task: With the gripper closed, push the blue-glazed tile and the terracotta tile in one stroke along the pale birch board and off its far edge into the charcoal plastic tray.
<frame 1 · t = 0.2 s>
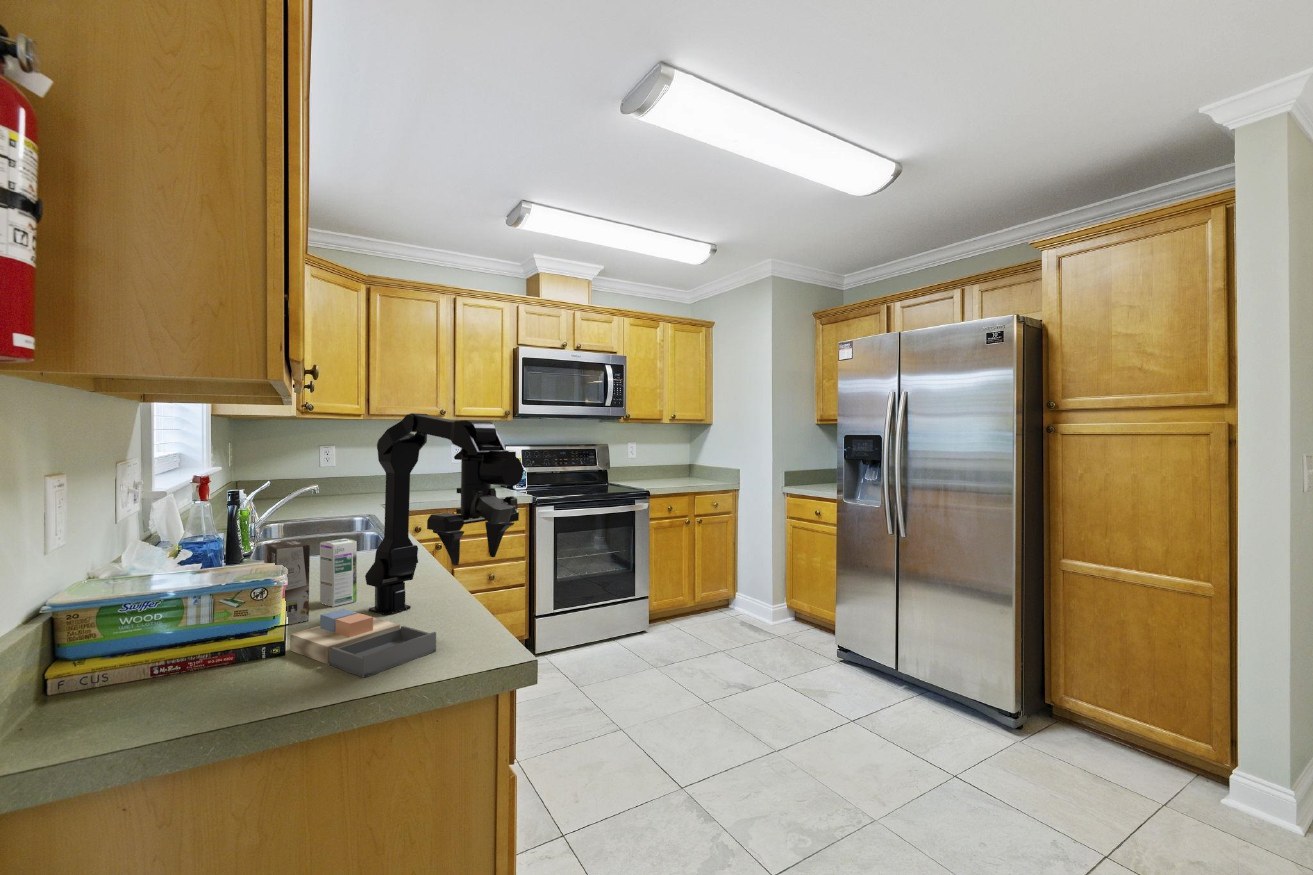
hand: (474, 561, 118), 14 cm above the worktop, tool pointing down, fingers open, 9 cm apart
birch board: (346, 645, 111), on the worktop
coffee box: (286, 620, 125), on the worktop
blue-glazed tile: (338, 626, 112), point 3 cm above the worktop, touching birch board
terracotta tile: (354, 631, 109), point 3 cm above the worktop, touching birch board
charcoal tray: (384, 657, 105), on the worktop
syrup box: (338, 603, 138), on the worktop
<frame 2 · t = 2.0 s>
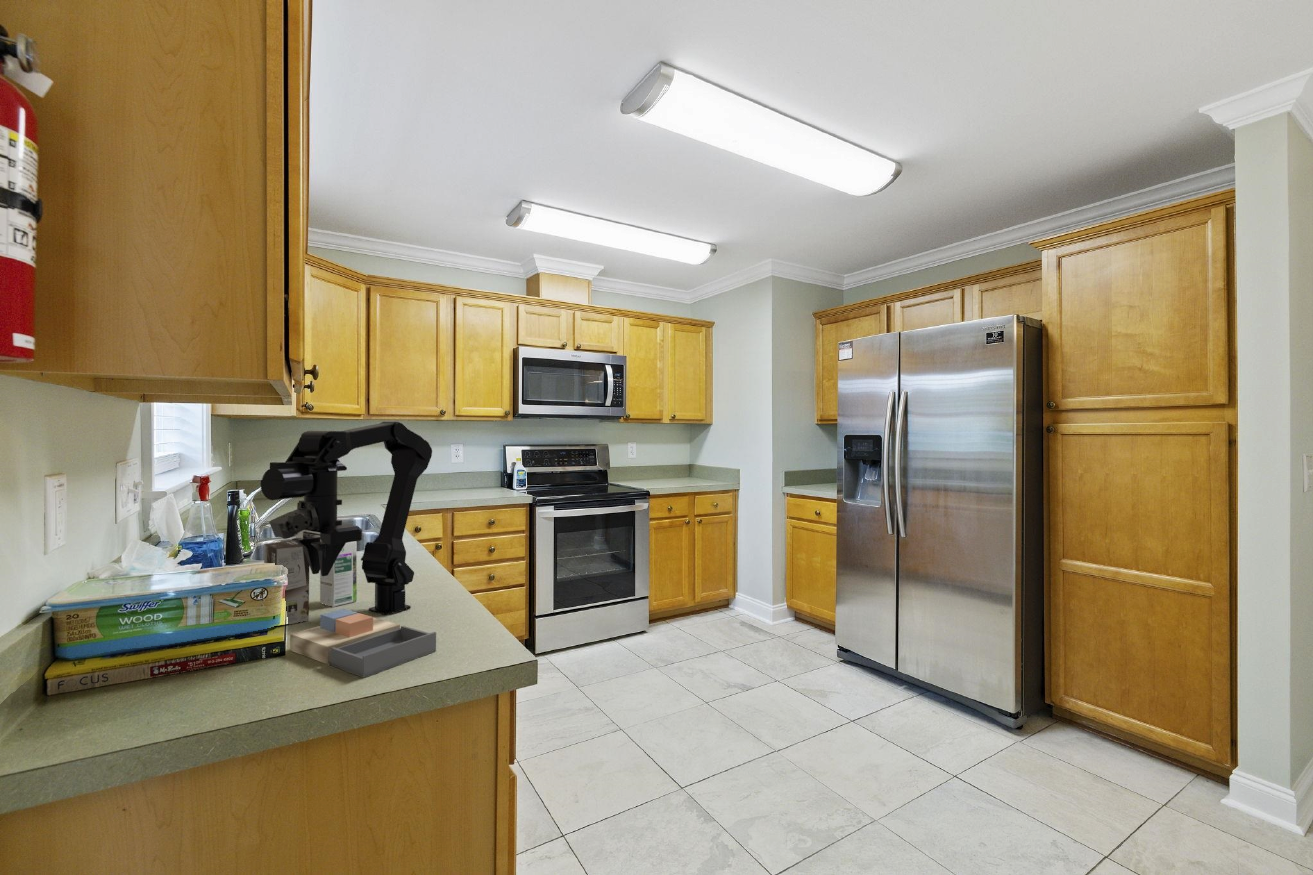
hand: (320, 574, 115), 12 cm above the worktop, tool pointing down, fingers open, 3 cm apart
nothing on the worktop moved.
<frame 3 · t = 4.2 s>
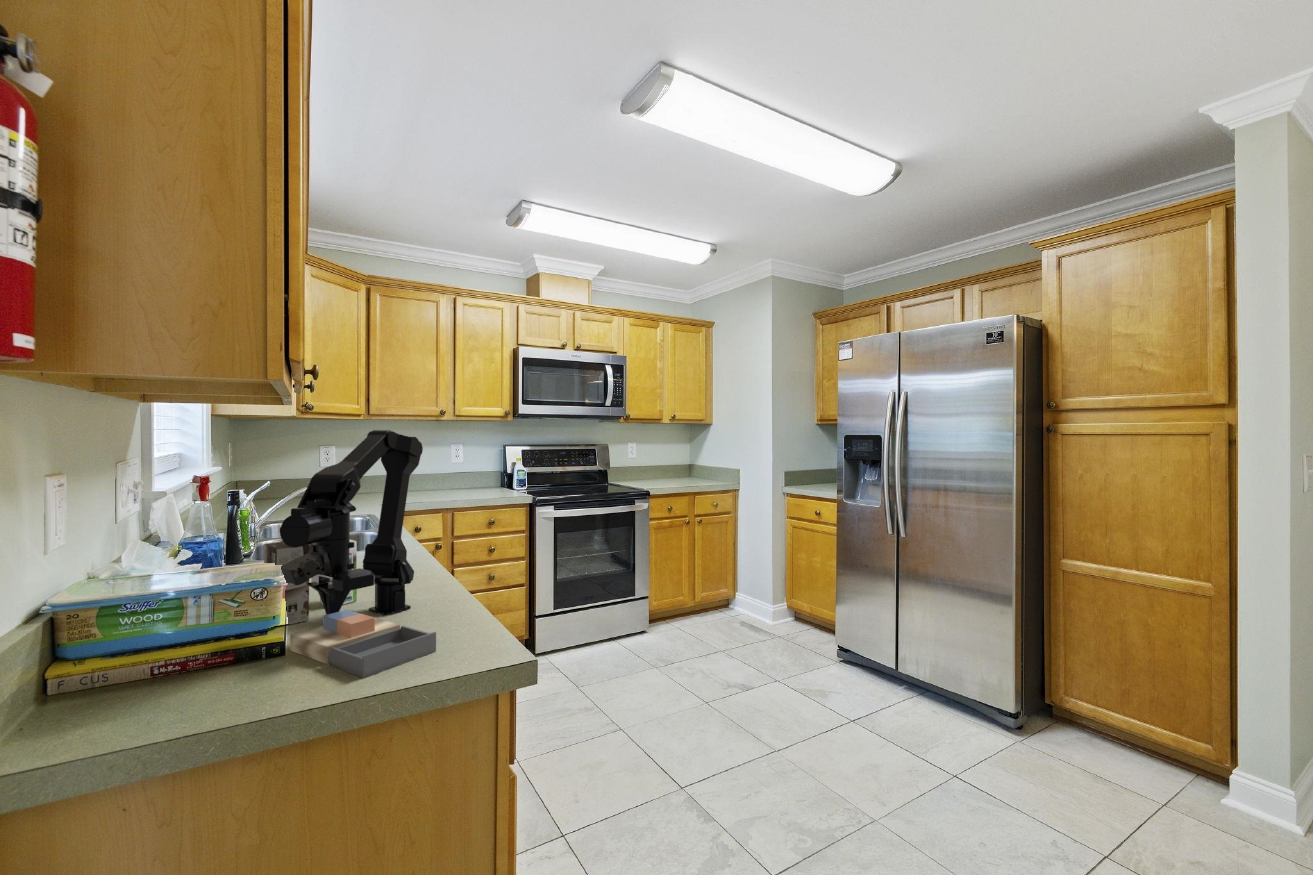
hand: (331, 619, 113), 4 cm above the worktop, tool pointing down, fingers closed
blue-glazed tile: (341, 627, 111), point 3 cm above the worktop, touching gripper
terracotta tile: (355, 632, 109), point 3 cm above the worktop
everything else where it was.
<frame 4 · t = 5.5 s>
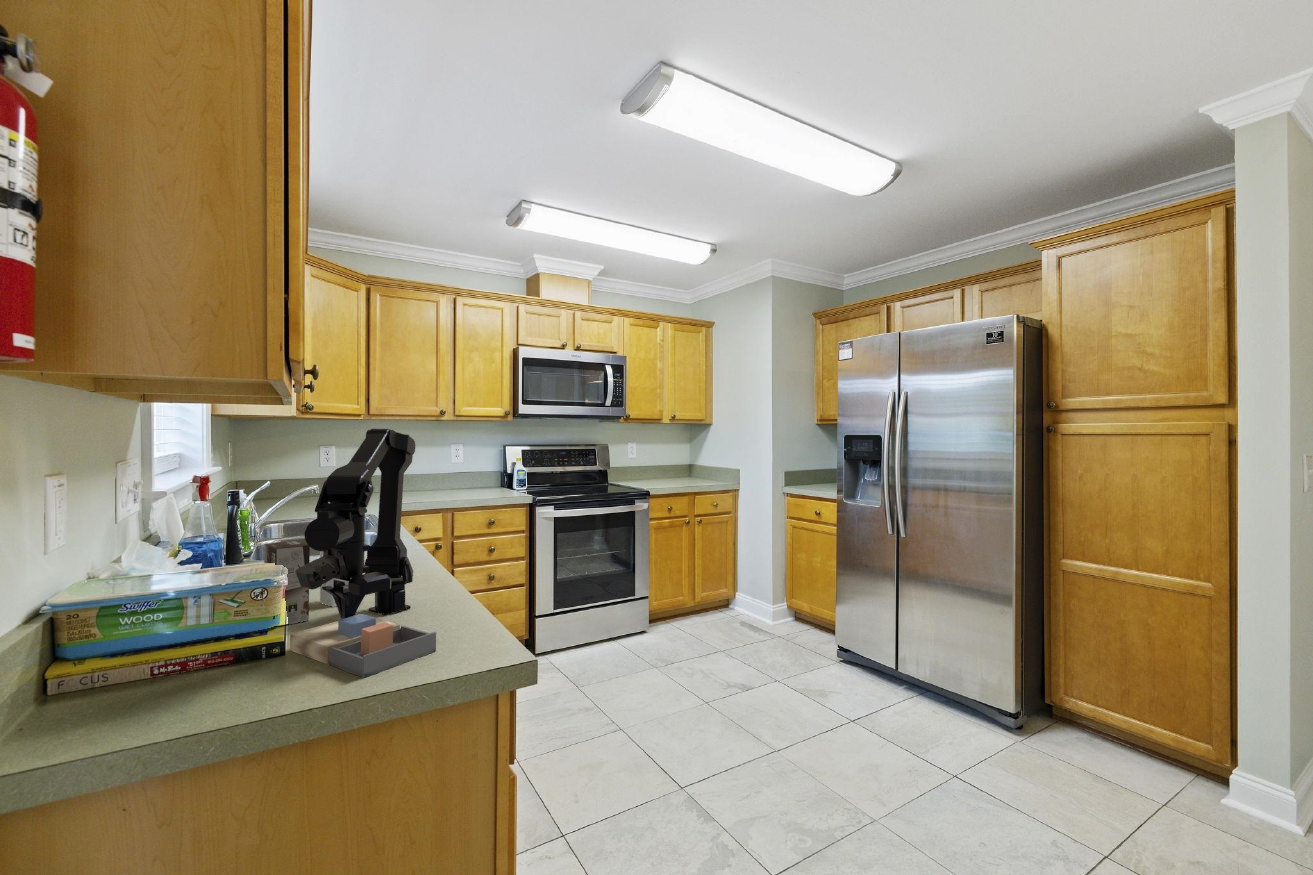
hand: (346, 623, 111), 4 cm above the worktop, tool pointing down, fingers closed
blue-glazed tile: (357, 632, 109), point 3 cm above the worktop, touching birch board, gripper
terracotta tile: (372, 637, 106), point 3 cm above the worktop, tilted 92°, touching charcoal tray
everything else where it was.
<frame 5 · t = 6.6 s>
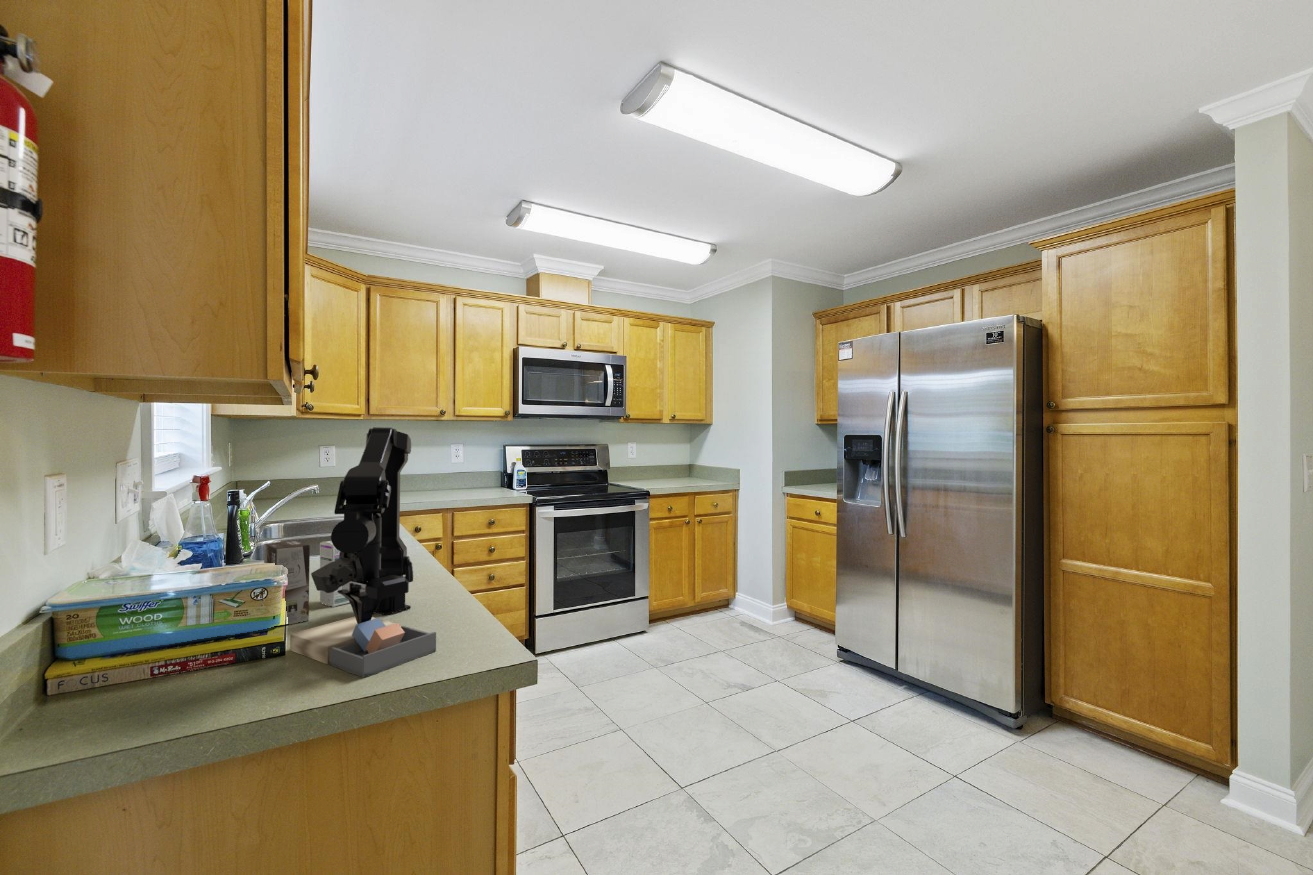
hand: (362, 628, 108), 4 cm above the worktop, tool pointing down, fingers closed
blue-glazed tile: (369, 639, 107), point 2 cm above the worktop, tilted 32°, touching gripper, terracotta tile
terracotta tile: (381, 635, 105), point 4 cm above the worktop, tilted 123°, touching blue-glazed tile
everything else where it was.
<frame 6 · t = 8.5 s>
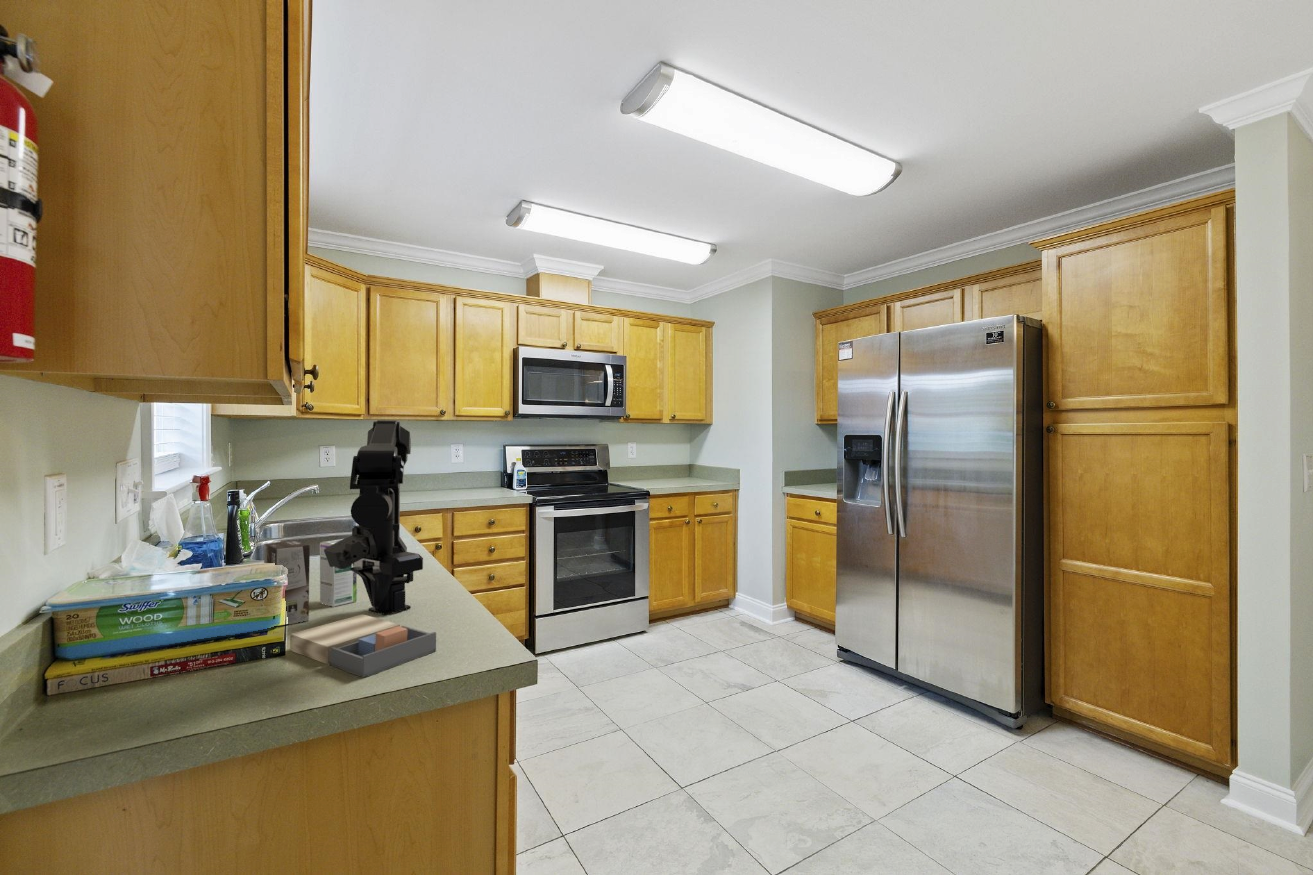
hand: (375, 606, 106), 9 cm above the worktop, tool pointing down, fingers closed
blue-glazed tile: (377, 651, 106), point 1 cm above the worktop, touching charcoal tray
terracotta tile: (387, 642, 104), point 3 cm above the worktop, tilted 92°, touching charcoal tray
everything else where it was.
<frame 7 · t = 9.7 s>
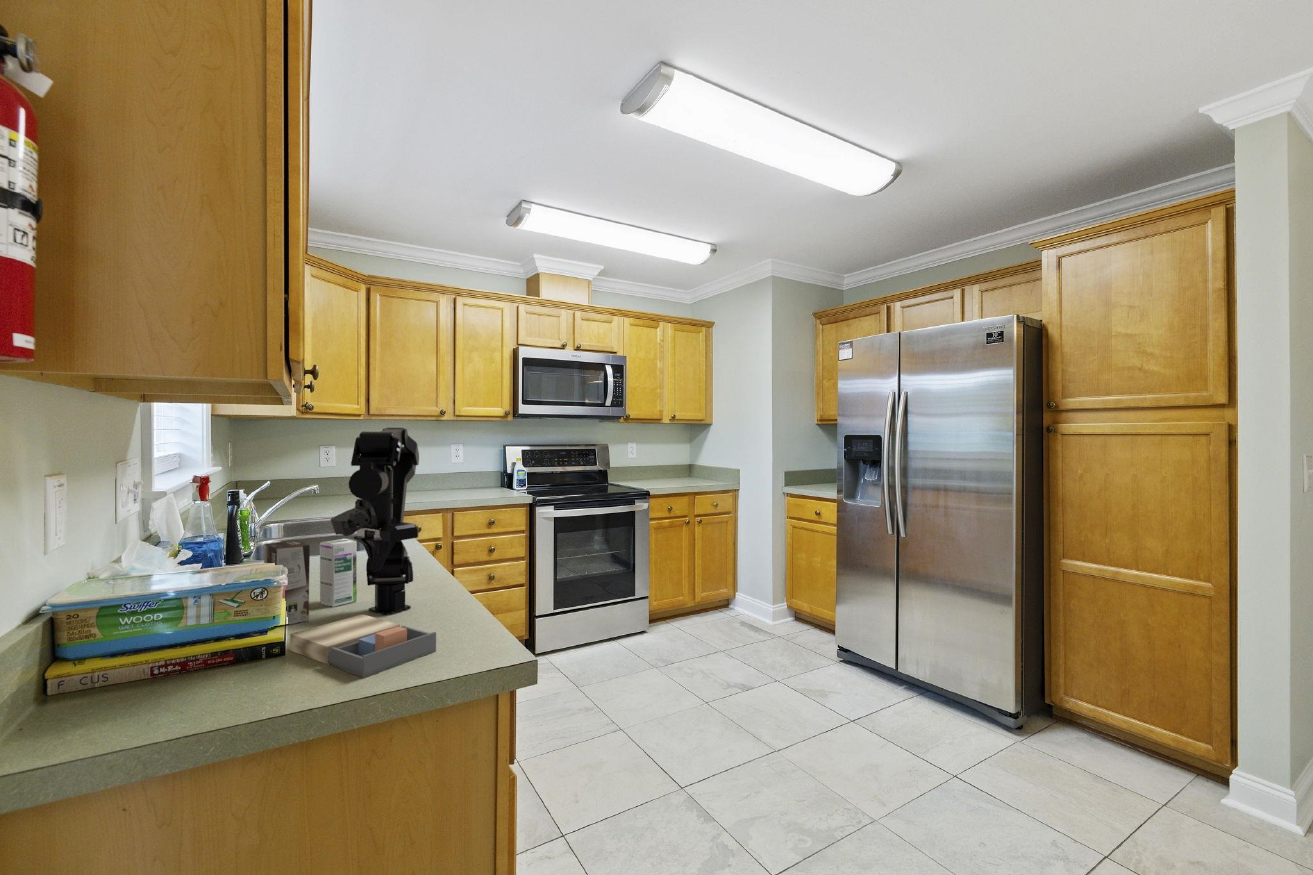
hand: (376, 571, 119), 12 cm above the worktop, tool pointing down, fingers closed
nothing on the worktop moved.
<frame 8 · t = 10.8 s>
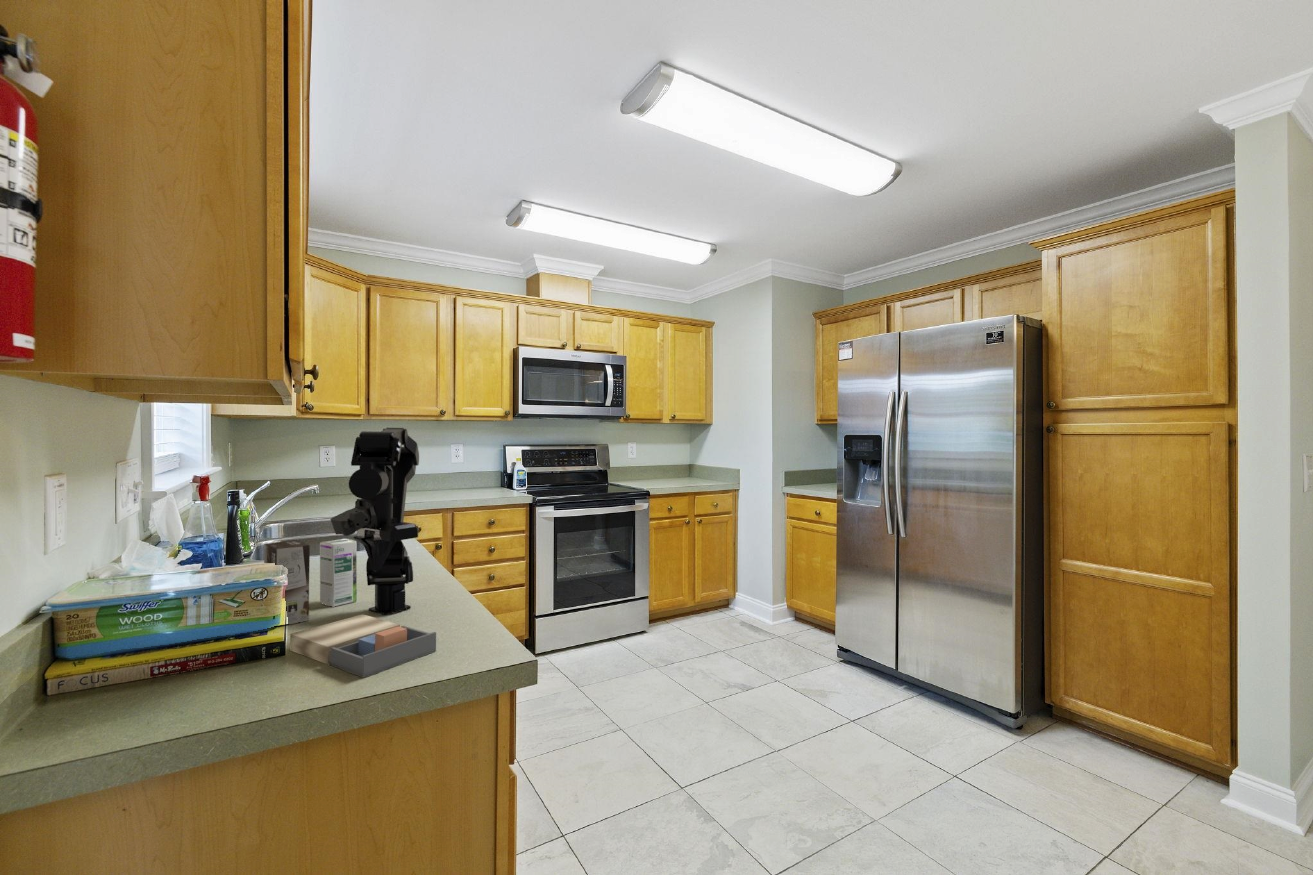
hand: (376, 570, 119), 12 cm above the worktop, tool pointing down, fingers closed
nothing on the worktop moved.
at the end: terracotta tile inside the target area on the charcoal tray (0.6 cm from its centre), point 2.8 cm above the charcoal tray's base; blue-glazed tile inside the target area on the charcoal tray (2.2 cm from its centre), point 0.6 cm above the charcoal tray's base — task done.
